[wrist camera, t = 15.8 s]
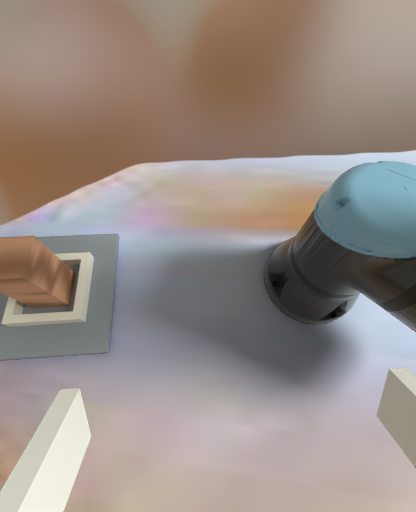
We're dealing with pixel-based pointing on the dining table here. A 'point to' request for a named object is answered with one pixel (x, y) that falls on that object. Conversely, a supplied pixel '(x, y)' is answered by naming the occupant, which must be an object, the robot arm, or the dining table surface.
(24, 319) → the baseplate
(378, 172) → the robot arm
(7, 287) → the pillar
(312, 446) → the dining table surface
